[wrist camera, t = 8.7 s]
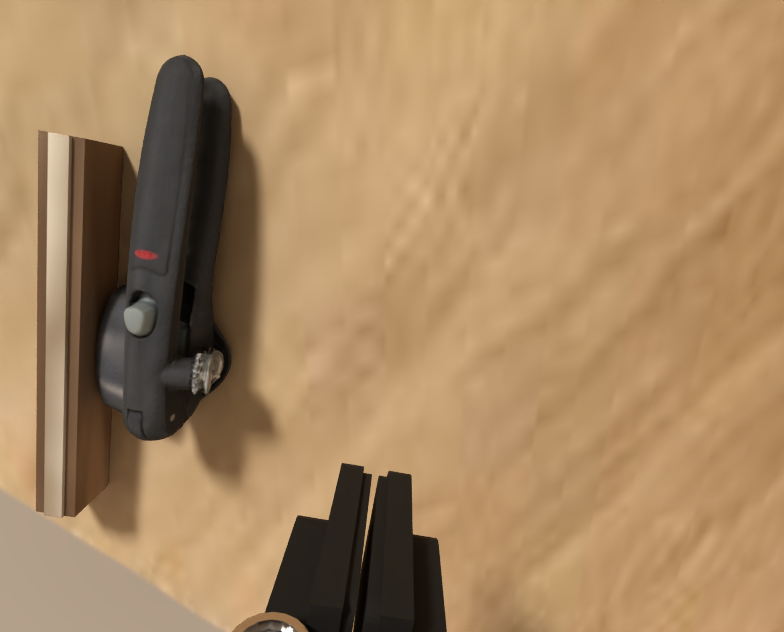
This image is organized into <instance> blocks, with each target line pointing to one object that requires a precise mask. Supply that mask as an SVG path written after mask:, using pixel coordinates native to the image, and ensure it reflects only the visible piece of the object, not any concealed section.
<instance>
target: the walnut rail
mask: <svg viewBox="0 0 784 632" xmlns="http://www.w3.org/2000/svg"><path fill="white" fill-rule="evenodd" d="M122 160H123V147H121V146H116V145H112V144H107V143H102V142H98V141H93V140H89V139H84V138H78V137H73V136H68V135H62V134H56V133H51V132H45V131H39V130H38V283H37V442H36V511H37V512H44V515H45V516H51V517H58V518H62V517H63V516H70V517H75V516H76V515H77V514H78V513H80V512H81V511H82V510H83V509H84V508H85V507H86V506H87V505H88V504H89V503H90V502H91V501H92V500H93V499H94V498H95V497H96V496H97V495H98V494H99V493H100V492H101V491H102V490H103V489H104V488H105V487H106V486H107V485H108V477H109V454H110V432H111V409H112V408H111V407H109V406H107V405H106V404H105V403H103V400H102V398H101V396H100V394H99V390H98V386H97V375H96V349H97V339H98V332H99V327H100V324H101V318H102V316H103V313H104V310H105V307H106V305H107V302H108V300H109V299H110V296H111V295H112V294H113V292H114V291H115V290H116V289H117V273H118V251H119V228H120V206H121V183H122Z"/></svg>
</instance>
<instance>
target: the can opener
mask: <svg viewBox="0 0 784 632" xmlns="http://www.w3.org/2000/svg"><path fill="white" fill-rule="evenodd" d="M230 138H231V98H230V94H229V91H228V89H227V87H226V86H225V85H224V84H223V83H222V82H221V81H220V80H218V79H216V78H212V77H208V78H204V75H203V72H202V69H201V67H200V65H199V64H198V63H197V62H196V61H195V60H194V59H192V58H191V57H188V56H186V55H180V56H176V57H173V58H171V59H169V60H167V61H166V62H165V63H164V64H163V65H162V67H161V69H160V71H159V73H158V76H157V79H156V84H155V88H154V93H153V97H152V101H151V106H150V111H149V116H148V121H147V126H146V130H145V136H144V140H143V147H142V152H141V159H140V166H139V171H138V177H137V185H136V191H135V199H134V208H133V216H132V226H131V236H130V249H129V262H128V273H127V286H125V285H123V286H120V287H119V288H117V289H116V290H115V291H114V292H113V294H112V295H111V296H110V299H109V300H108V302H107V305H106V307H105V310H104V313H103V316H102V318H101V324H100V327H99V332H98V339H97V349H96V375H97V386H98V390H99V394H100V396H101V398H102V400H103V403H105V404H106V405H107V406H109V407H111V408H113V409H115V410H117V411H120V412H122V413H123V421H124V424H125V426H126V428H127V430H128V431H129V432H130V433H131V434H133V435H134V436H135V437H137V438H139V439H142V440H147V441H152V440H160V439H164V438H166V437H169V436H171V435H173V434H174V433H175V432H177V430H178V429H179V428H181V427H182V426H183V423H185V422H186V421H187V420H188V419H189V417H190V416H191V415H192V414H193V412H194V411H195V409H196V407H197V406H198V404H199V402H200V400H201V399H203V398H204V397H205V396H207V395H208V394H209V393H211V392H212V391H213V390H215V389H216V388H217V387H218V386H219V385H220V384H221V383H222V382H223V380H224V379H225V377H226V376H227V374H228V372H229V369H230V366H231V352H230V348H229V346H228V344H227V342H226V340H225V338H224V337H223V335H222V334H221V332H220V330H219V329H218V327H217V325H216V323H215V321H214V318H213V308H212V281H213V271H214V263H215V257H216V252H217V246H218V239H219V234H220V227H221V221H222V214H223V207H224V200H225V193H226V185H227V177H228V165H229V153H230Z"/></svg>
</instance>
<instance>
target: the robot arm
mask: <svg viewBox="0 0 784 632" xmlns="http://www.w3.org/2000/svg"><path fill="white" fill-rule="evenodd" d="M363 471H364V467H363V466H357V465H351V464H345V463H342V465H341V469H340V473H339V477H338V482H337V486H336V490H335V495H334V499H333V503H332V507H331V512H330V516H329V520H323V519H317V518H311V517H305V516H299V515H298V516H297V518H296V521H295V524H294V527H293V530H292V533H291V536H290V539H289V542H288V545H287V548H286V551H285V554H284V557H283V560H282V563H281V566H280V569H279V572H278V575H277V578H276V581H275V584H274V587H273V590H272V593H271V596H270V599H269V602H268V605H267V608H266V611H265V613H260V614H257V615H255V616H252V617H250V618H247V619H246V620H245V621H243V622H242V623H241V624H239V625H238V626H236V628H235V629H234V630H233V632H352V628H353V623H354V629H353V632H447V630H446V619H445V608H444V597H443V586H442V576H441V565H440V554H439V544H438V540H437V538H431V537H425V536H419V535H413V529H412V479H411V475H410V474H404V473H399V472H393V471H389V472H388V475H387V477H384V476H379V478H378V482H377V488H376V493H375V498H374V504H373V509H372V514H371V520H370V525H369V530H368V535H367V541H366V546H365V551H364V557H363V562H362V555H363V546H364V538H365V529H366V521H367V512H368V504H369V496H370V487H371V479H372V474H366V473H363ZM361 563H362V567H361ZM360 572H361V573H360ZM355 611H356V612H355ZM354 617H355V621H354Z"/></svg>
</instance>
